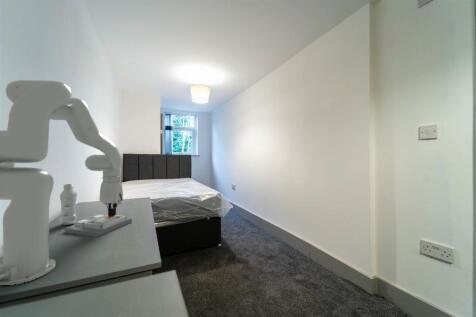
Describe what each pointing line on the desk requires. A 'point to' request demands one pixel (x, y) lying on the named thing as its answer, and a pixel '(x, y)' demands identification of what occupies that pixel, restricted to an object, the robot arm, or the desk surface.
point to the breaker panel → (97, 226)
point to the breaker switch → (105, 220)
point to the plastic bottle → (68, 205)
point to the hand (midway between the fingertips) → (112, 215)
